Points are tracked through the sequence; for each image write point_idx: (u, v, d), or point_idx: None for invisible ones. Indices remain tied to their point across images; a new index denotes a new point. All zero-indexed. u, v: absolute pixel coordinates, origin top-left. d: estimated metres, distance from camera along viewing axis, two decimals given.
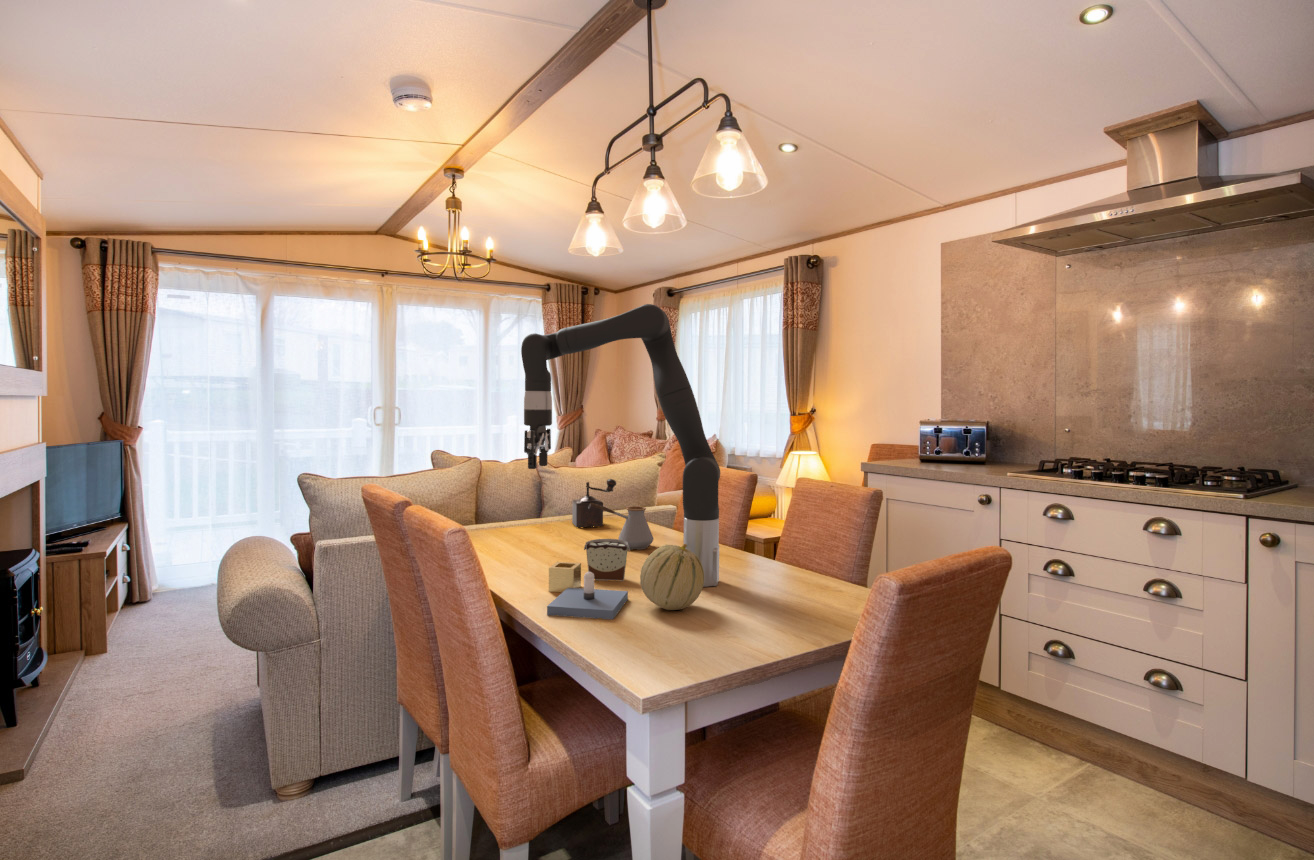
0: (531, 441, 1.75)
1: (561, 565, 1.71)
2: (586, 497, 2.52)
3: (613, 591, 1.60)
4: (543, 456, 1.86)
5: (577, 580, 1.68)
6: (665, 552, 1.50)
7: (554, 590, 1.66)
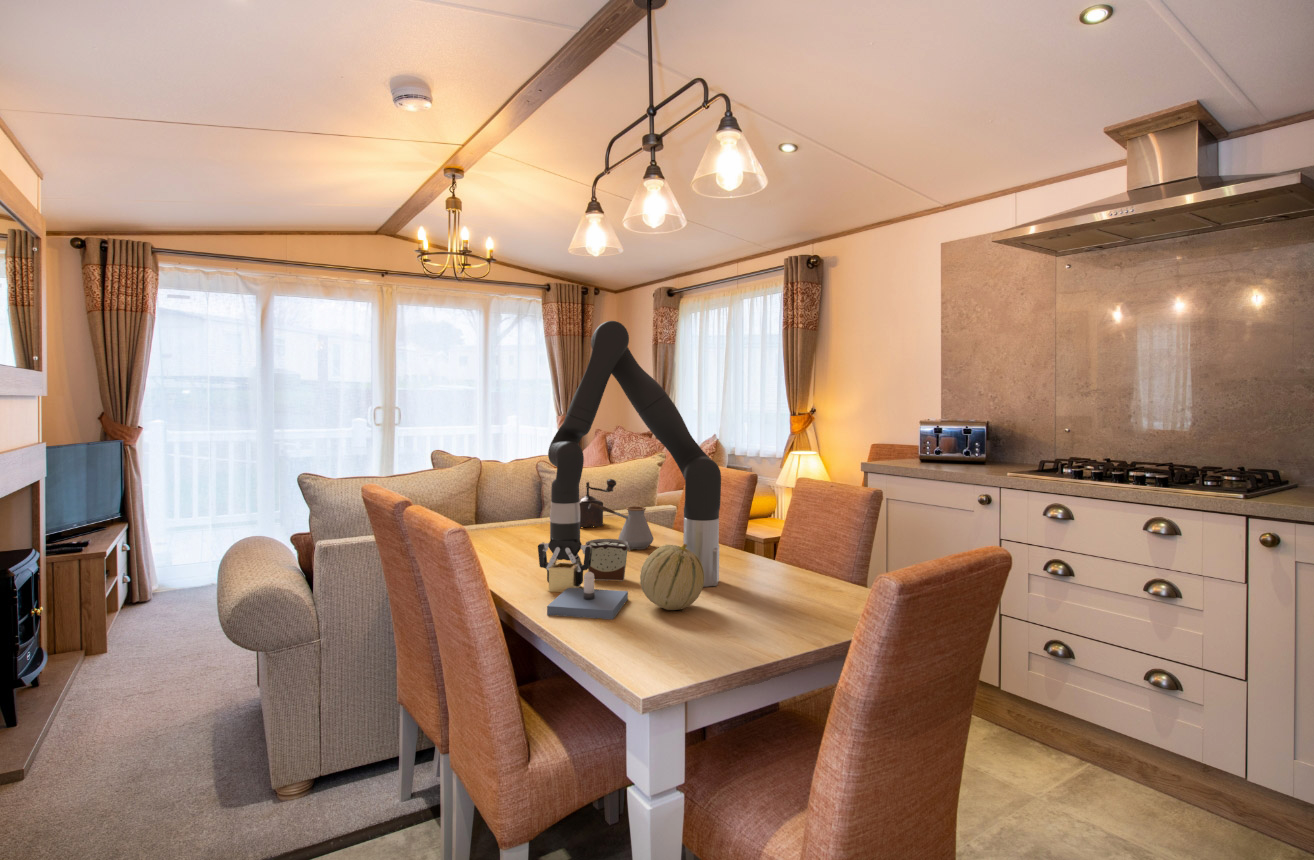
0: (591, 556, 1.68)
1: (561, 565, 1.71)
2: (586, 497, 2.52)
3: (613, 591, 1.60)
4: None
5: None
6: (665, 552, 1.50)
7: (554, 590, 1.66)
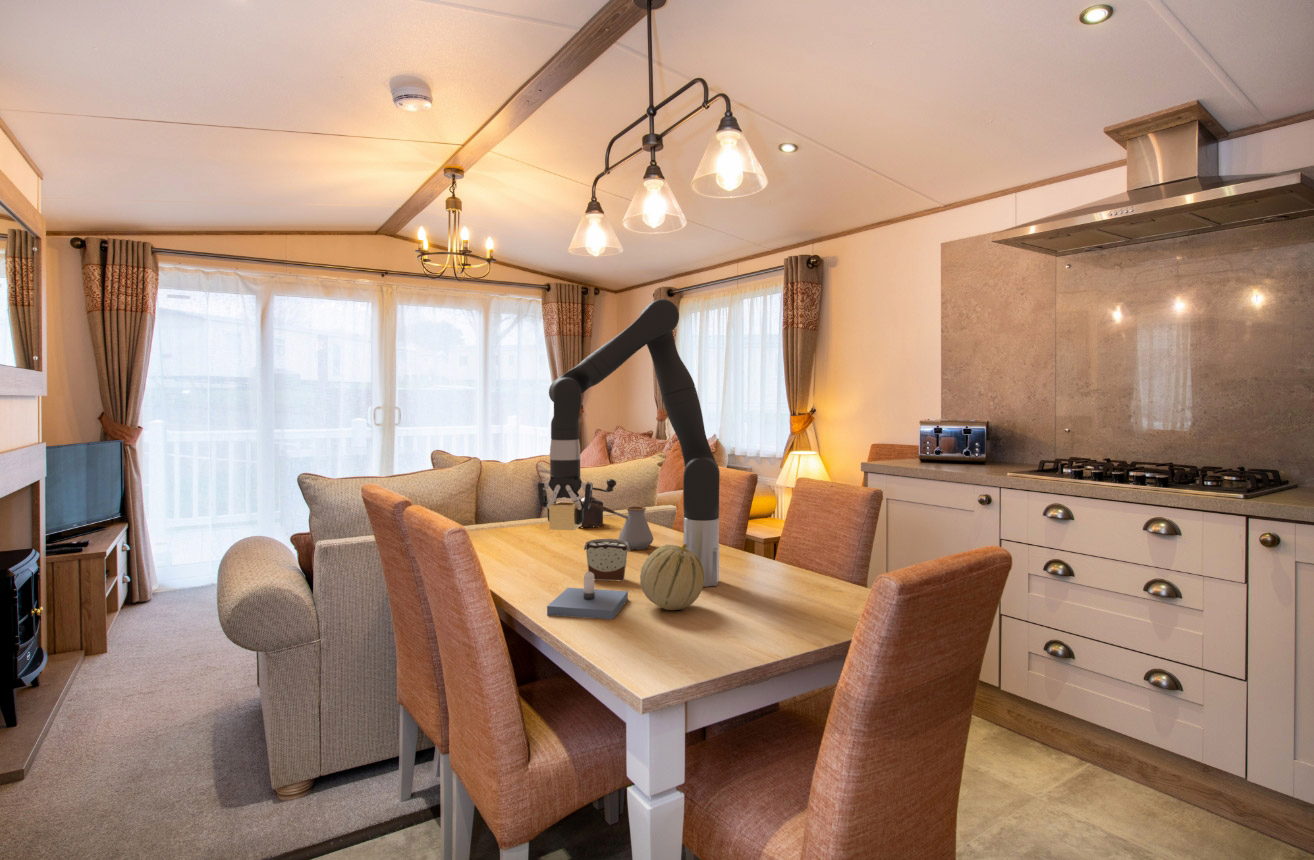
0: (591, 494, 1.67)
1: (561, 504, 1.70)
2: None
3: (613, 591, 1.60)
4: None
5: None
6: (665, 552, 1.50)
7: (555, 528, 1.65)
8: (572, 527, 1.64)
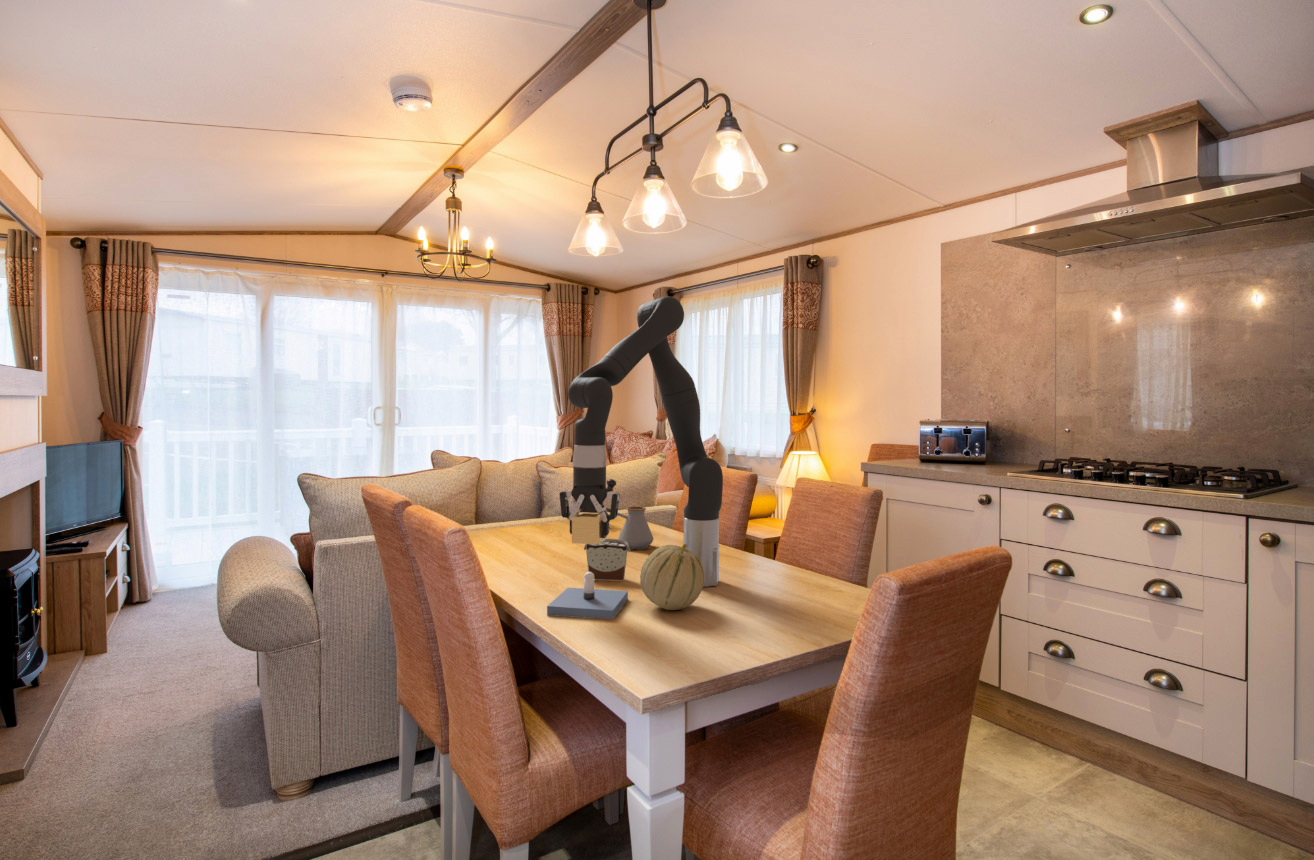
0: (618, 505, 1.53)
1: (585, 515, 1.56)
2: None
3: (613, 591, 1.60)
4: None
5: None
6: (665, 552, 1.50)
7: (578, 541, 1.51)
8: (597, 541, 1.50)
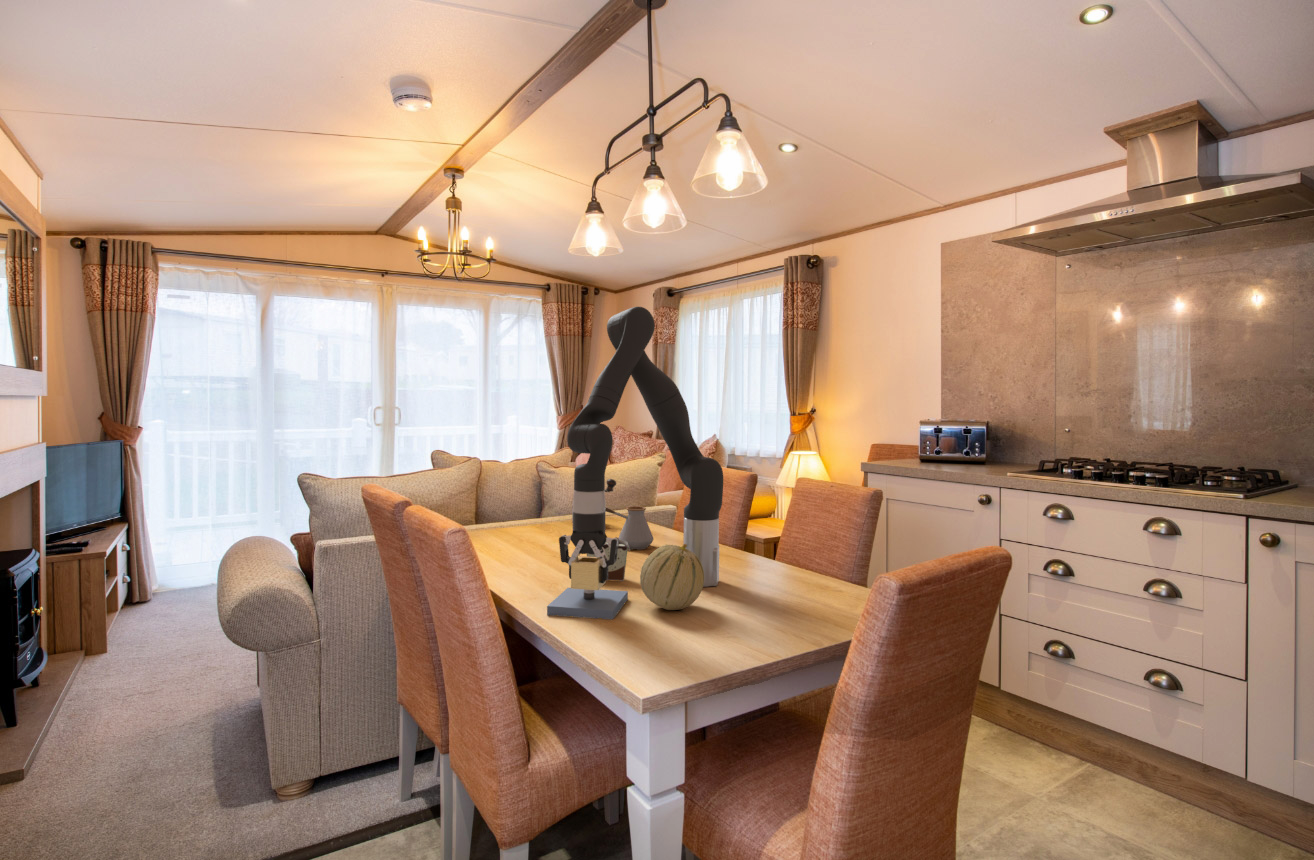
0: (617, 550, 1.53)
1: (584, 560, 1.56)
2: None
3: (613, 591, 1.60)
4: None
5: None
6: (665, 552, 1.50)
7: (577, 587, 1.51)
8: (596, 587, 1.50)
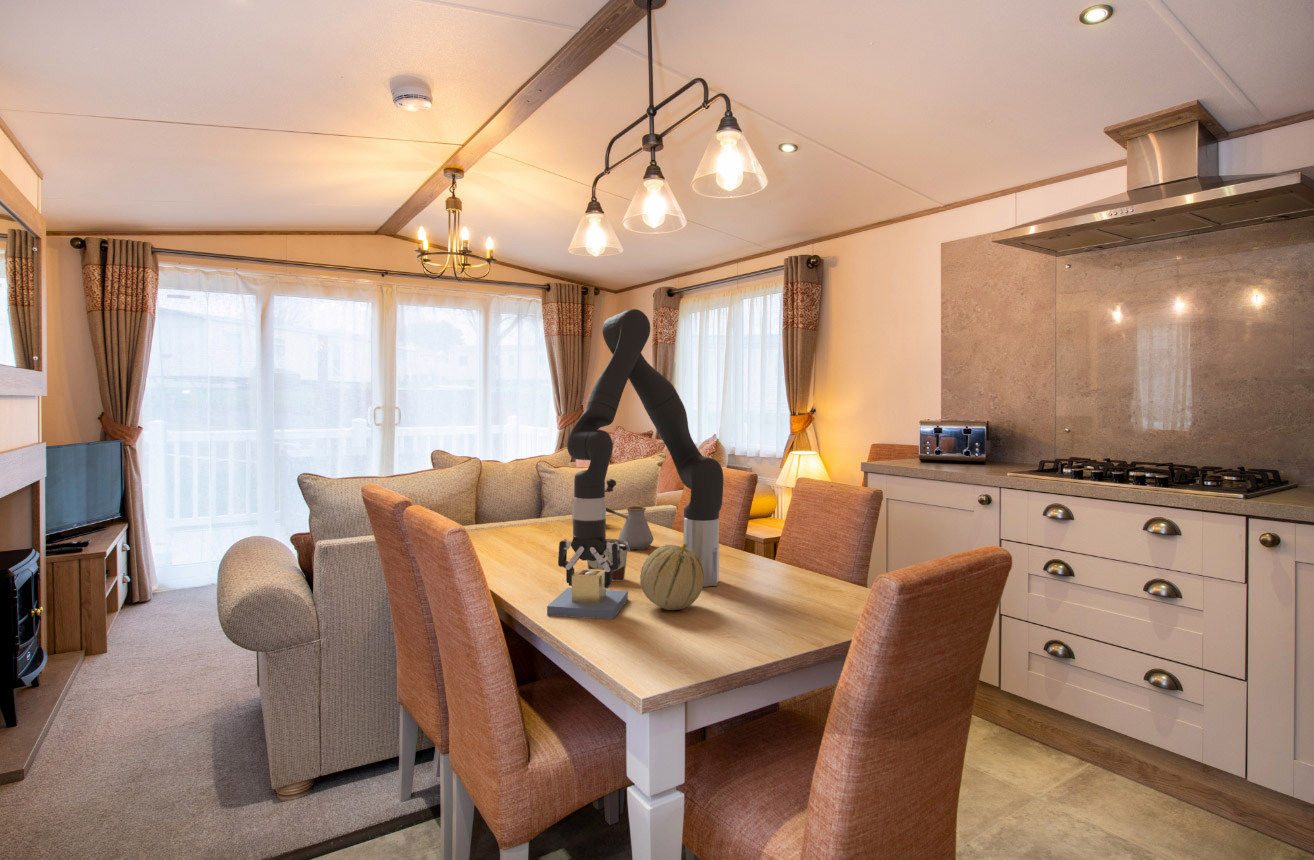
0: (619, 554, 1.53)
1: (584, 572, 1.56)
2: None
3: (613, 591, 1.60)
4: (573, 573, 1.55)
5: (602, 589, 1.54)
6: (665, 552, 1.50)
7: (578, 600, 1.51)
8: (597, 600, 1.50)
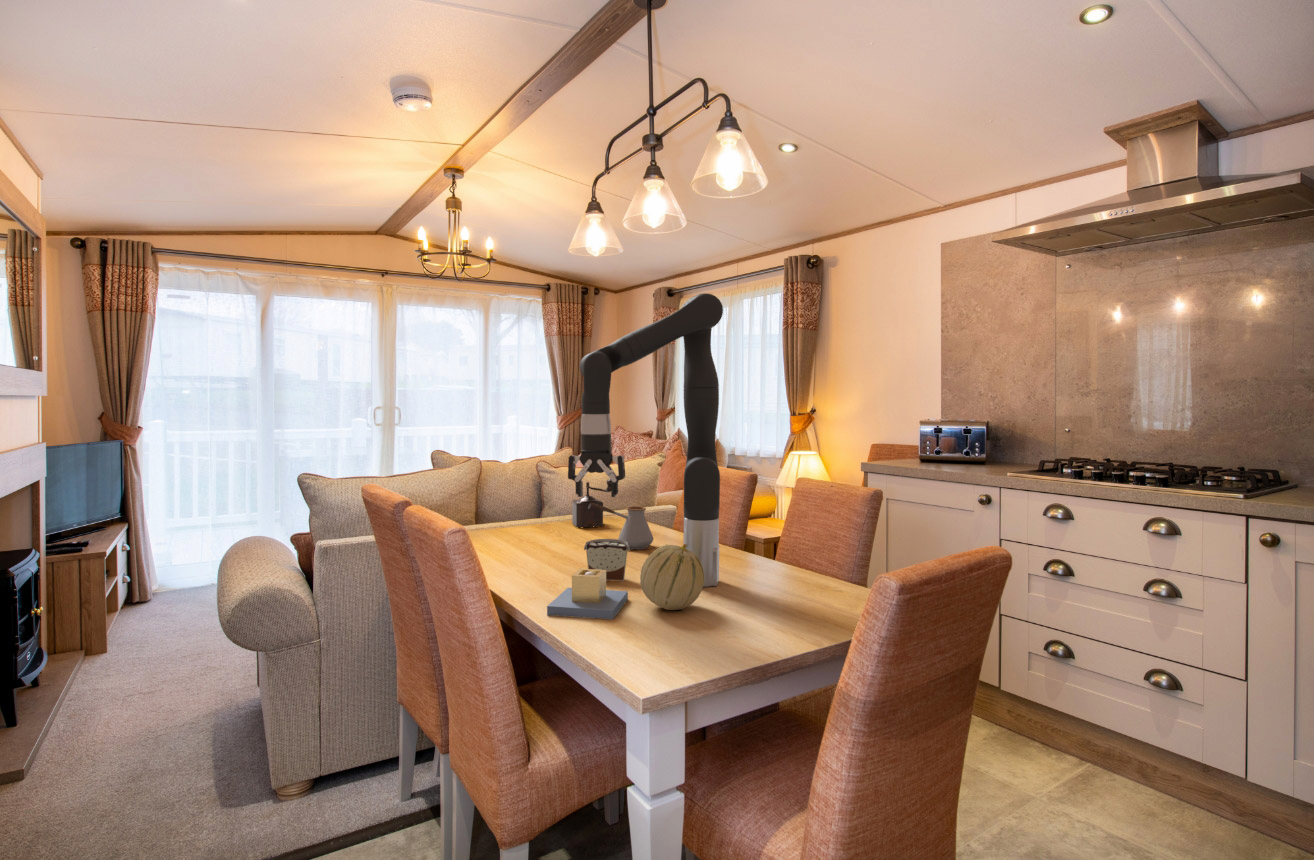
0: (624, 466, 1.67)
1: (584, 572, 1.56)
2: (586, 497, 2.52)
3: (613, 591, 1.60)
4: (581, 485, 1.68)
5: (602, 589, 1.54)
6: (665, 552, 1.50)
7: (578, 600, 1.51)
8: (597, 600, 1.50)
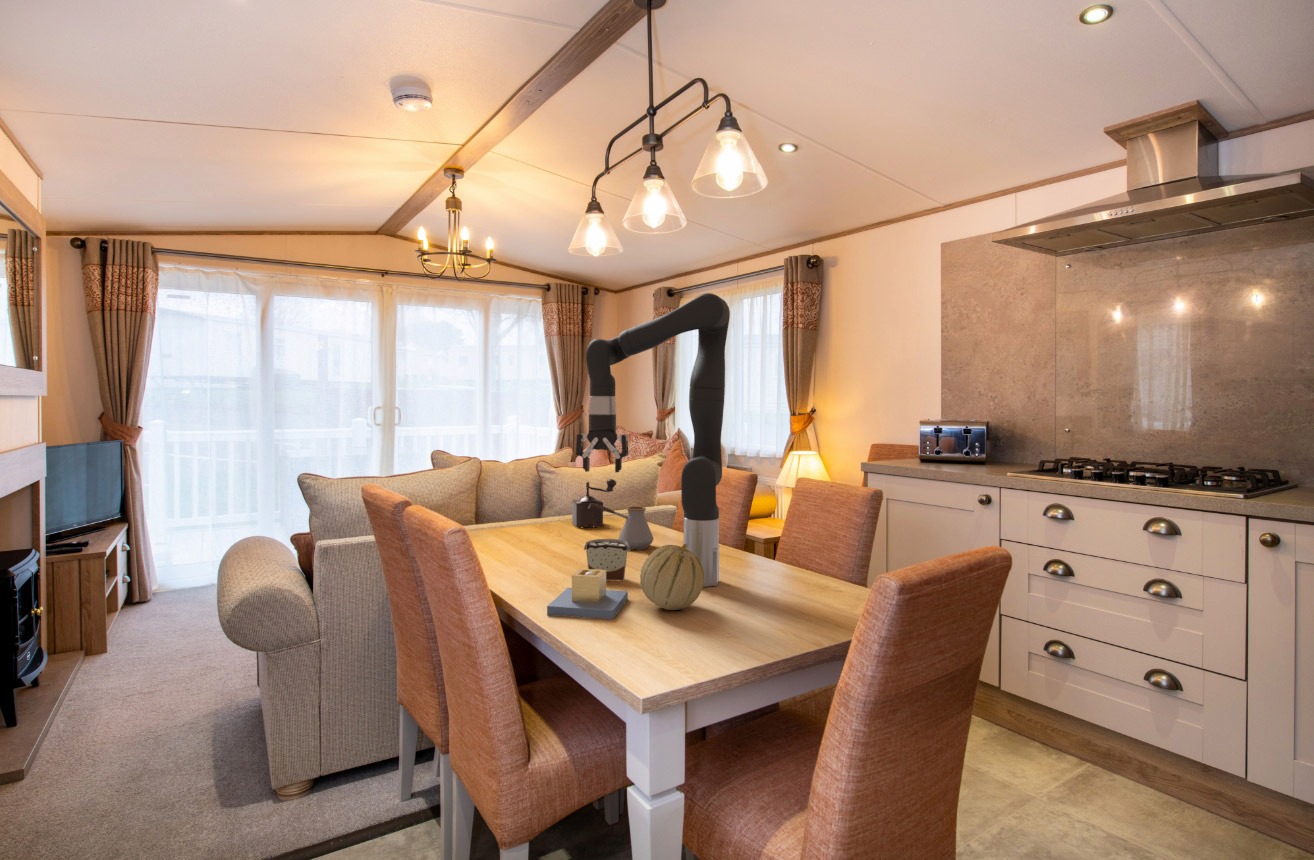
0: (627, 444, 1.83)
1: (584, 572, 1.56)
2: (586, 497, 2.52)
3: (613, 591, 1.60)
4: (588, 461, 1.84)
5: (602, 589, 1.54)
6: (665, 552, 1.50)
7: (578, 600, 1.51)
8: (597, 600, 1.50)
